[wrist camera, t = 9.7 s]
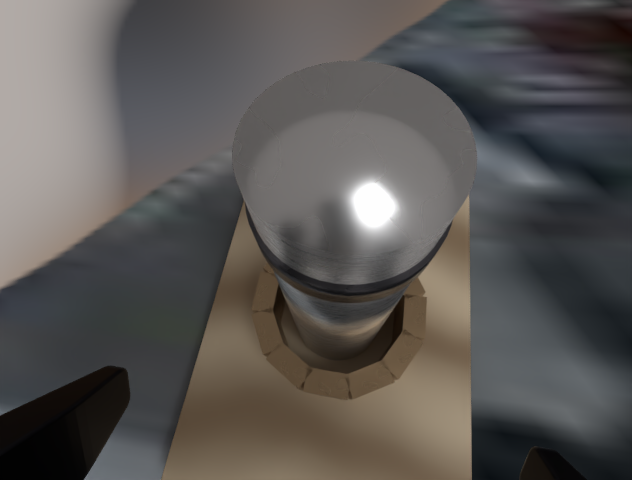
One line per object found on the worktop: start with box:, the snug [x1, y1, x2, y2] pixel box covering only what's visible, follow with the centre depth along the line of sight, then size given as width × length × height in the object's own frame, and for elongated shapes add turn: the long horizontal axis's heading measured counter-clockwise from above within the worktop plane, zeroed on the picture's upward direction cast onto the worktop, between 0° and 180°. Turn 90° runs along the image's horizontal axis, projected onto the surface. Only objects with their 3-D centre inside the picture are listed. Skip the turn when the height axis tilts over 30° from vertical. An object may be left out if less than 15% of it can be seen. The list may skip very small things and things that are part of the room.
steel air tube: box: [232, 61, 477, 361], centre depth 13 cm, size 5×5×14 cm
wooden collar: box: [251, 263, 427, 400], centre depth 18 cm, size 8×8×3 cm
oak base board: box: [161, 195, 472, 480], centre depth 20 cm, size 18×14×2 cm
